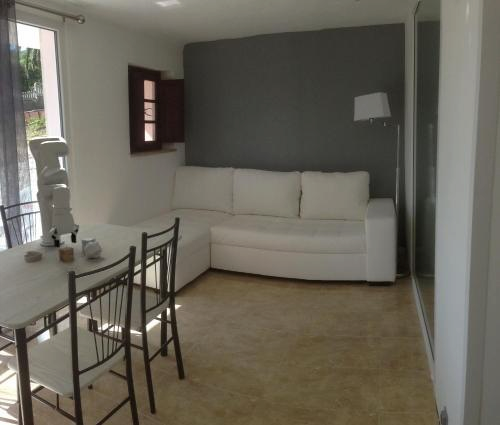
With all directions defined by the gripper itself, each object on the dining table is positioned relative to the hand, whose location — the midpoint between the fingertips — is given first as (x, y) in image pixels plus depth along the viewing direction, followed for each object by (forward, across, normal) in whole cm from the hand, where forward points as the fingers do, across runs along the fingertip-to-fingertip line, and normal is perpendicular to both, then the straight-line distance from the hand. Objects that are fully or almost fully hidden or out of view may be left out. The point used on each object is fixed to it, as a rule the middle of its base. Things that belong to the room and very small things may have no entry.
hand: (65, 244), depth 240 cm
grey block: (+8, -18, -6) cm, 21 cm away
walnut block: (+8, 0, -1) cm, 8 cm away
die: (+8, -10, +7) cm, 15 cm away
